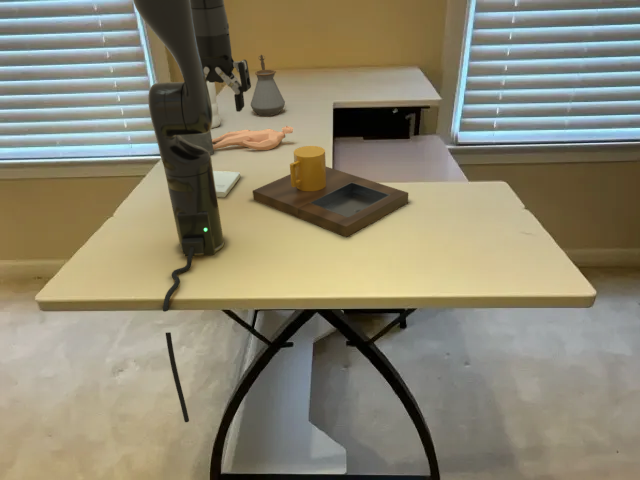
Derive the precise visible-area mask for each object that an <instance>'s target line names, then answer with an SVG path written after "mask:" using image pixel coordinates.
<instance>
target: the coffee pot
mask: <svg viewBox="0 0 640 480" xmlns="http://www.w3.org/2000/svg"><path fill="white" fill-rule="evenodd" d="M265 58H266V56H264V55H262V54H260V55H259V56H258V60H259V61H260V66H261V69H260V70H256V71H255V73H254V74H255V75H256V78H257V81H256V85H255V88H254V91H253V95H252V98H251V102H250V107H251V109H252V110H253V111H254V112H255V113H256V114H257V115H258V116H262V117H263V116H264V117H270V116H276V115H278V114H280V112H281V111H282V110H283V109H284V108H285V105H286V101H285V99H284V97H283V95H282V93H281V91H280V88H279V87H278V85H277V82H276V81H275V78H274V77H275V75H276V73H277V71H276V70H273V69H266V66H265Z"/></svg>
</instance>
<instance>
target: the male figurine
mask: <svg viewBox="0 0 640 480" xmlns="http://www.w3.org/2000/svg"><path fill="white" fill-rule="evenodd" d="M293 132H294V127H292V126H288V125H285V126H284V127H281V131H277V130H275V129H272V128H266V129H261V130H250V129H241V130H237V131H228V132H226V133H224V134H222V135H220V136H218V137H215V138H212V144H213V151H214V150H217V149H223V148H227V147H231V146H240V147H246V148H249V149H251V150H255V151H269V150H272V149H275V148H276V147H278V145H280V142H282V141H283V139H285V138H286V135H287V134H293Z"/></svg>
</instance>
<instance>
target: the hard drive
mask: <svg viewBox="0 0 640 480" xmlns="http://www.w3.org/2000/svg"><path fill="white" fill-rule="evenodd" d="M213 174H214V181H215V188H216V194H217V198H225V197H226V196H227V195H228V194H229V193H230V191H231V190H232V189H233V188H234V186H235V185H236V183H237V182H238V181H239V179H240V178H241V172H240V171H224V170H213Z"/></svg>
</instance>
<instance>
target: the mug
mask: <svg viewBox="0 0 640 480" xmlns="http://www.w3.org/2000/svg"><path fill="white" fill-rule="evenodd" d="M326 167H327V165H326V150H325V148H324V147H322V146H317V145H303V146H300V147H297V148H295V149H294V150H293V162H291V163H289V172H290V174H291V186H292V187H296V188H297V189H299V190H302V191H318V190H321V189H323V188H325V187H326ZM290 174H289V175H290Z"/></svg>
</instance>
